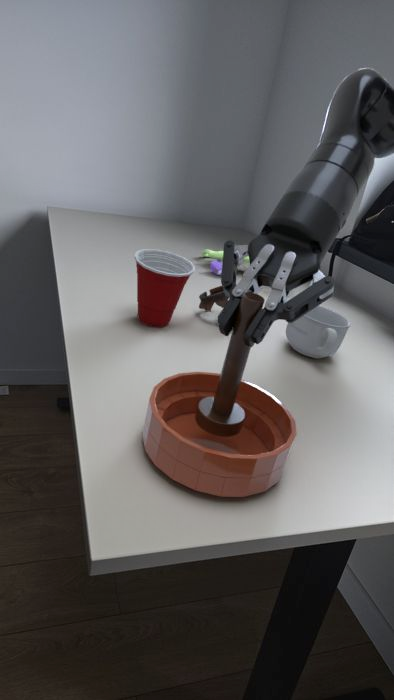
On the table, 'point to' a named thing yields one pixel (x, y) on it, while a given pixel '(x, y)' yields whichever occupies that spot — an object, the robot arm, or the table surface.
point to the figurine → (218, 260)
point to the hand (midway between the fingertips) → (235, 336)
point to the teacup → (317, 332)
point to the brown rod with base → (230, 376)
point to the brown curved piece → (213, 298)
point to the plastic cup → (160, 284)
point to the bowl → (217, 437)
